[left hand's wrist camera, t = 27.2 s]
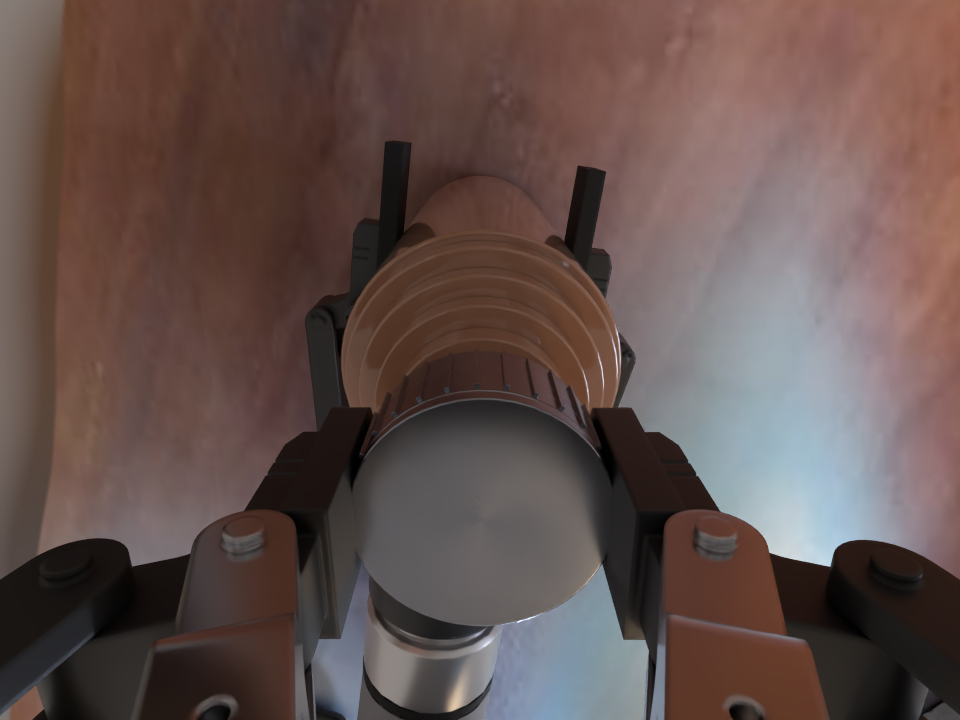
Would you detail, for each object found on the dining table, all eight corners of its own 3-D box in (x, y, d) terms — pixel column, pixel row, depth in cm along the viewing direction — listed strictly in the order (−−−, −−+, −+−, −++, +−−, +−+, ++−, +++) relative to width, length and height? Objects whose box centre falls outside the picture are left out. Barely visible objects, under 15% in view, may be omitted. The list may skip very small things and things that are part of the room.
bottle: (404, 302, 34) (261, 637, 12) (420, 165, 32) (275, 256, 9) (535, 321, 35) (639, 680, 12) (560, 187, 32) (752, 326, 10)
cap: (318, 441, 12) (285, 505, 10) (499, 297, 11) (503, 336, 9) (467, 586, 13) (465, 669, 11) (642, 468, 12) (674, 536, 10)
